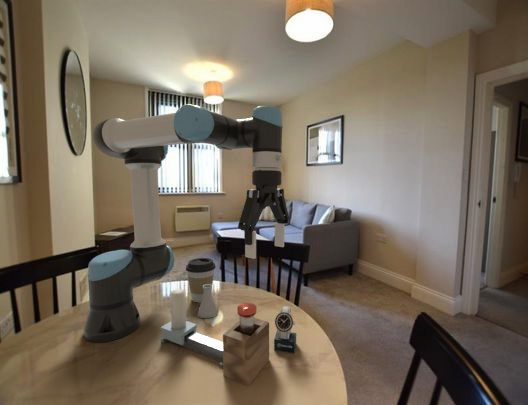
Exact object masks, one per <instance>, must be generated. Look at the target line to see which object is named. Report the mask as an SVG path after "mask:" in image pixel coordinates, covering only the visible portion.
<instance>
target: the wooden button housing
mask: <svg viewBox="0 0 528 405" xmlns="http://www.w3.org/2000/svg"><path fill="white" fill-rule="evenodd" d="M222 342H223V367H222V371H223V372H222V373H223V376H224V377H227V378H229V379H232V380H233V381H236V382H238V383H240V384H243V385H245V386H248V387H250V385H251V384H252V383H253V381H254V380H255V378H256V377H257V376H258V375H259V374H260V372H261V371H262V370H263V368H264V366H266V364H267V363H268V362H269V360H270V322H269V321H267V320H263V319H261V318H260V319H259V318H256V317H254V333H253V334H252V335H251V336H249V335H245V334H242V333H240V320H238V321H237V322H236V323H235V324H233V326H231V327H230V328H229V329H228V330H227V331H225V332H224V333H223V334H222Z"/></svg>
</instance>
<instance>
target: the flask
mask: <svg viewBox="0 0 528 405" xmlns="http://www.w3.org/2000/svg"><path fill="white" fill-rule="evenodd" d="M211 288H212V289H213V284H212V285H211V284H205V285H203V289H204V293H203V299H202V302H201V303H200V304H199V305H200V306H199V308H198V311H197V317H198V318H201V319H213V318H214V317H215V316H217V315H218V314H219V310H218V306H217V304H216V302H215V299H214V296H213V290H212V291H211Z"/></svg>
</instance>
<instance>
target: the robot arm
mask: <svg viewBox="0 0 528 405" xmlns="http://www.w3.org/2000/svg"><path fill="white" fill-rule="evenodd" d="M282 113H283V112H282V110H281V109H280V108H278V107H277V106H273V105H258V106H257V107H255V108H253V110H252V113H251V117H249V118H242V119H240V118H239V119H235V118H232V117H229V116H226V115H223V114H220V113H218V112H215V111H213V110H209V109H207V108H205V107H203V106H200V105H196V104H191V103H187V104H183V105H181V106H180V108H178V109H177V110H176V112H173V113H172V112H171V113H167V114H166V113H164V114H158V115H153V116H146V117H139V118H133V119H121V118H119V117H118V118H117V117H112V118H108V119H104V120H101V121H100V122H98V123H97V124H95V126H94V128H93V129H92V140H93V143H94V146H96V148H97V149H98V150H99V151H100V152H101V153H103V154H104V155H105V156H108V157H111V158H115V159H121V160H122V159H123V160H124V166H125V168H127V169H128V170H129V172H130V186H131V187H130V189H131V204H132V218H133V219H132V220H133V232H134V233H133V235H134V241H133V242H132V243H131V244H130V245H129V248H130V250H129V249H117V250H112V251H111V250H110V251H106V252H103V253H100V254H99V255H96V256H95V257H93V258H92V259H91V260H90V261H89V263H88V267H87V280H88V295H89V311H88V313H87V317H86V321H85V324H84V326H83V337H84V339H85V340H87V341H89V342H93V343H105V342H111V341H115V340H118V339H121V338H124V337H126V336H127V335H130V334H131V333H133V332H134V331H136V330H137V329H138V328H139V327H140V324H141V316H140V312H139V310H138V307H137V305H136V303H135V300H134V289H136V288H139V287H142V286H144V285H147V284H150V283H152V282H155V281H159V280H161V279H163V278H164V277H166V276H168V275H169V274H170V273H171V272H172V270H173V268H174V265H175V254H174V251H172V248H171V247H170V246H169V245H167V241H166V240H165V239H164V238H163V237H162V228H161V227H162V226H161V212H160V211H161V210H160V208H161V207H160V194H159V178H158V177H159V176H158V170H159V169H160V168H161V167H162V162H163V161H165V159H166V157H167V155H168V153H169V152H168V151H169V146H175V145H186V144H189V145H190V144H206V145H207V144H208V145H213V146H215V147H216V148H217V149H219V150H228V151H232V150H235V149H236V150H237V149H249V148H250V149H252V152H251V154H252V156H251V157H252V159H251V168H252V169H254V170H253V171H252V172H251V175H252V176H251V178H252V179H251V183H252V185H253V186H255V189H253V188H251V189H247V190H246V199H245V202H244V206H243V209H242V212H241V214H240V218H239V222H238V224H237V229H238V230H241V231H243V232H244V236H243V237H244V245H245V246H244V250H245V251H244V256H245V258H249V259H253V260H255V259H257V231H256V230H255V228H256V226H257V225H258V224H257V223H258V222H259V219H260V218H261V215H262V213H263V211H264V210H265V209H266V208H268V207H269V209H270V211H271V212H272V216H274V218H275V221H276V222H275V223H274V247H280V248H284V247H285V224H289V221H290V215H289V212H288V207H287V203H286V199H285V190H284V189H285V188H278V186H281V185H282V172H281V170H280V169H282V160H283V157H282V152H283V151H282V145H283V128H284V125H283V114H282Z"/></svg>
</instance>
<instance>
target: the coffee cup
mask: <svg viewBox="0 0 528 405" xmlns="http://www.w3.org/2000/svg"><path fill="white" fill-rule="evenodd" d="M215 269H216V263H215V262H214V261H213V259H211V258H209V257H198V258H194V259H191V260H189V261H188V263H187V265H186V266H185V271H186V272H187V277H188V278H187V279H188V284H189V285H188V286H189V292H190V298H191V301H192V300H193V301H194V302H193V301H192V302H193V303H196V302H198V303H197V304H201V302H202V299H203V293H204V289H203V285H205V284H211V285H212V286H213V283H214V274H215ZM211 291H212V292H213V287H212V288H211Z"/></svg>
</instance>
